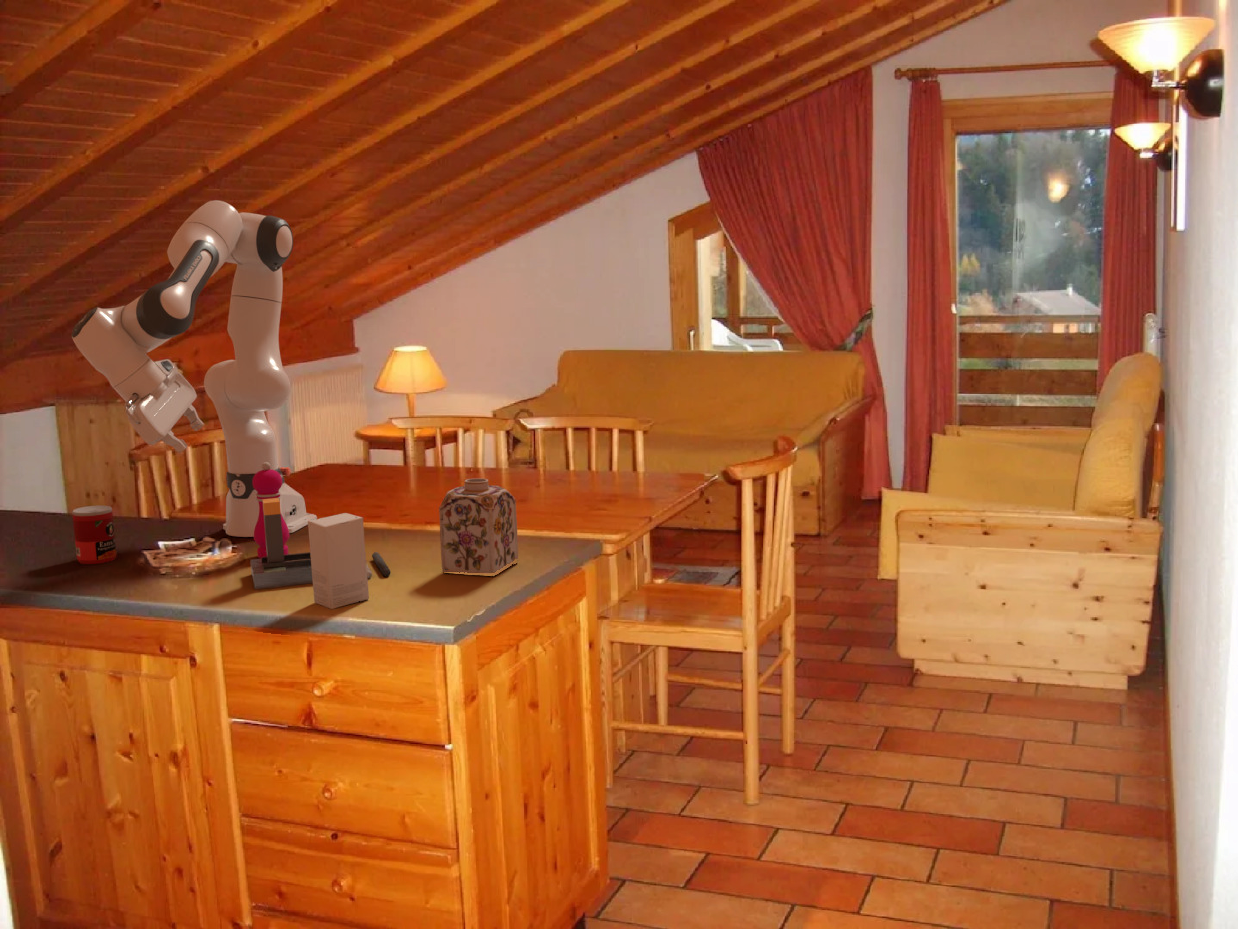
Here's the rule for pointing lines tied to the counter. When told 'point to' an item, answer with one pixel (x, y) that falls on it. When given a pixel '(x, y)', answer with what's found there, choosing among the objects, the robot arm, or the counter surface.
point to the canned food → (94, 534)
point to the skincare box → (338, 560)
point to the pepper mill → (267, 488)
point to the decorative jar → (478, 528)
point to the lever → (273, 530)
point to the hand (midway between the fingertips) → (192, 438)
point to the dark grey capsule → (379, 565)
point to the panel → (282, 571)
